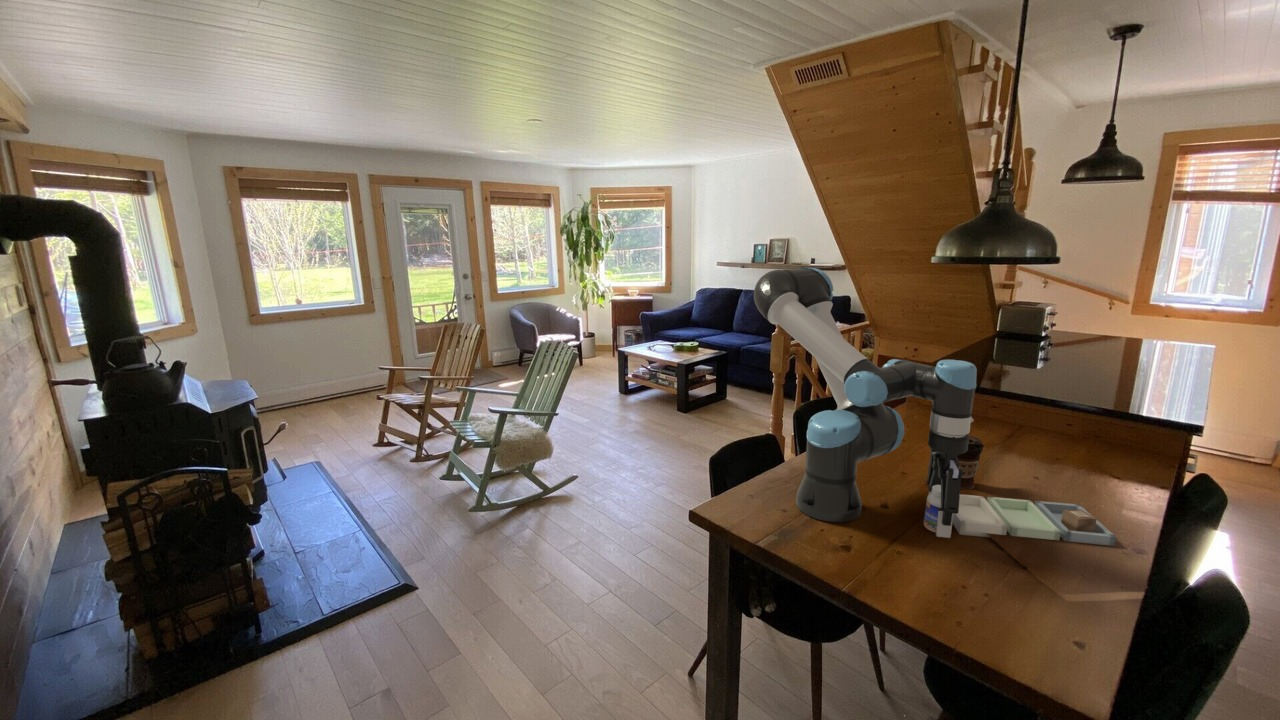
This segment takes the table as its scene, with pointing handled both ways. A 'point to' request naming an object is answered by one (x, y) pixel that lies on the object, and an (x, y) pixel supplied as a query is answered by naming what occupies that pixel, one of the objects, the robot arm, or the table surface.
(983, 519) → the bin
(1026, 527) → the bin mid
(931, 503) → the pill bottle
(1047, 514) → the bin
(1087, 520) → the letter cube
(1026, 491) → the table surface
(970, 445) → the coffee cup
